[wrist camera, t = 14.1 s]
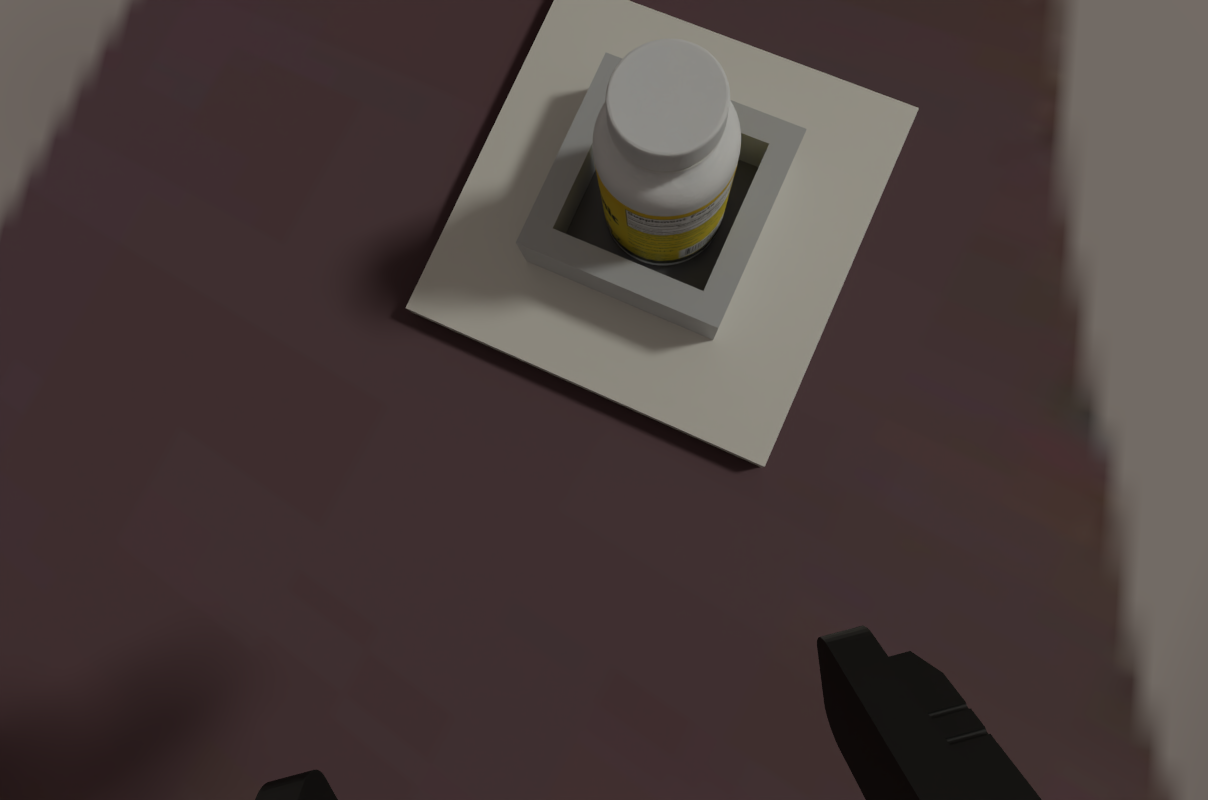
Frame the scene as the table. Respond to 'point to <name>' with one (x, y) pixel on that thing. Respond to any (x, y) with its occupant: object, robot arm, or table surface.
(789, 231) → the socket dock
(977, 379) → the table surface
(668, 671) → the table surface
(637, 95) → the supplement bottle
